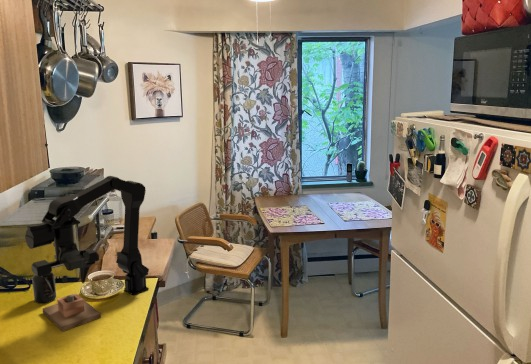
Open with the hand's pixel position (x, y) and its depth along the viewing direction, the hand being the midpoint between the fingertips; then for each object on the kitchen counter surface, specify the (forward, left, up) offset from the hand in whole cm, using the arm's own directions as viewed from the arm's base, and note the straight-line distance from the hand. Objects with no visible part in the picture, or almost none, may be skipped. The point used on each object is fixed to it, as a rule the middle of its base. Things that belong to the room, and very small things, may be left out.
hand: (68, 287), depth 141 cm
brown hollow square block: (0, 0, -8) cm, 8 cm away
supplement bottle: (+2, -17, -10) cm, 20 cm away
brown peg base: (0, 0, -10) cm, 10 cm away
